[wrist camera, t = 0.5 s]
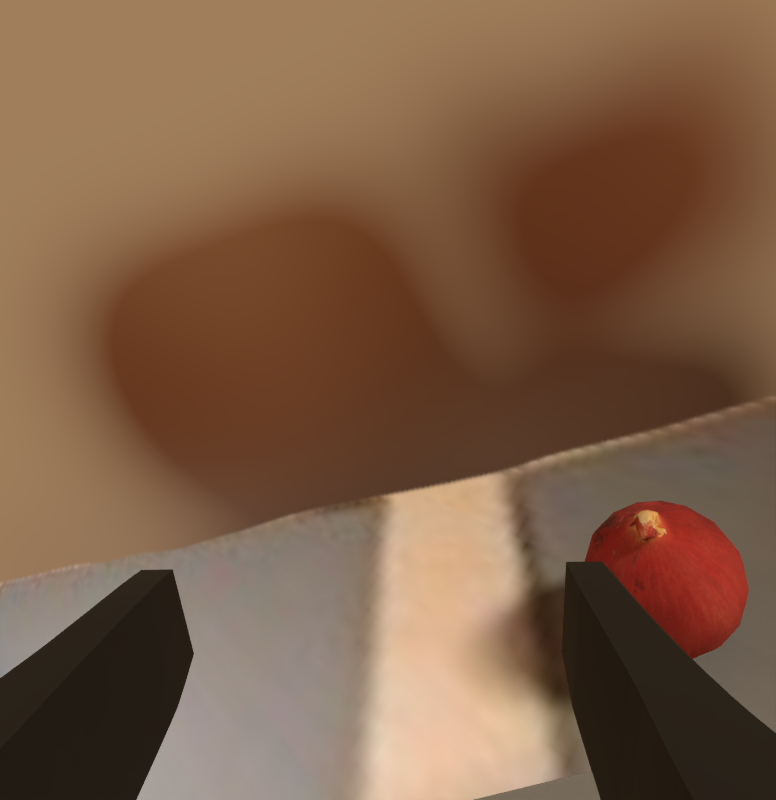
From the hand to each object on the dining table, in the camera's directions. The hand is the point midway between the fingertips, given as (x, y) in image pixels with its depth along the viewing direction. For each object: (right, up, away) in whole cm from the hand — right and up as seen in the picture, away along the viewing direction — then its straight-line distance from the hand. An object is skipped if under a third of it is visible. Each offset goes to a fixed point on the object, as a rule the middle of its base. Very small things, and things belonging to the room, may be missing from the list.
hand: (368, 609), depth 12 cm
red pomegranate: (+13, -6, +15) cm, 21 cm away
